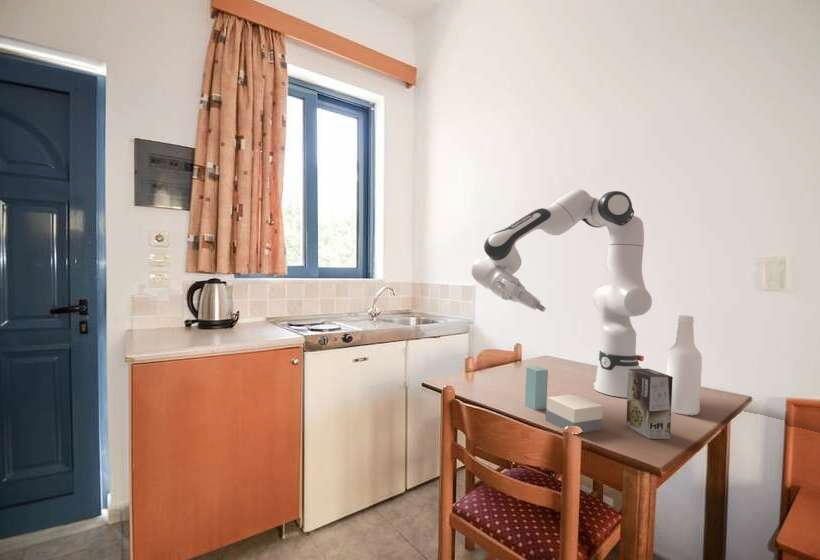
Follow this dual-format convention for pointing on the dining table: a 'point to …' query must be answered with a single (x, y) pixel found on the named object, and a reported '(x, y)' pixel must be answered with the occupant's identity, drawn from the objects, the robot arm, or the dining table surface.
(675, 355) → the alcohol
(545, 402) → the teal post
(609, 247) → the robot arm
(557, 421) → the slab bottom
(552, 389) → the dining table surface
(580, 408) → the slab top
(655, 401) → the coffee box
